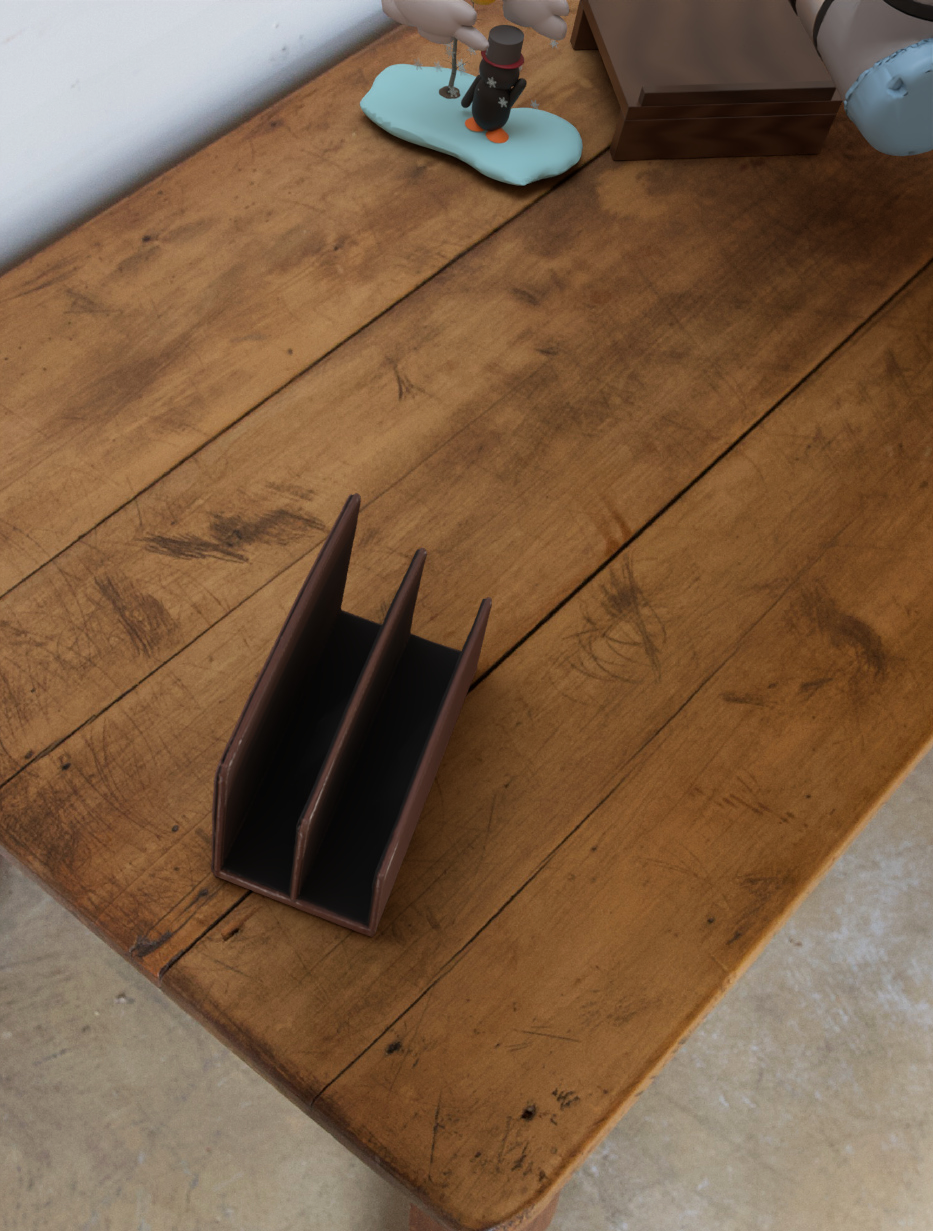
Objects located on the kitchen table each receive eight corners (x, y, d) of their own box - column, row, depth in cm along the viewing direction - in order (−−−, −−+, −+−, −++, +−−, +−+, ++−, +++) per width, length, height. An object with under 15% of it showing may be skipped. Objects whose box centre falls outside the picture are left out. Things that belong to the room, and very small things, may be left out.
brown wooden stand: (759, 34, 118) (784, -33, 113) (819, 154, 108) (849, 86, 103) (569, 40, 117) (585, -28, 112) (613, 160, 108) (632, 93, 102)
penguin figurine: (598, 154, 108) (648, -25, 95) (529, 215, 104) (572, 36, 91) (409, 65, 115) (432, -114, 102) (337, 118, 110) (351, -61, 97)
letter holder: (208, 877, 72) (204, 757, 60) (331, 616, 82) (348, 468, 70) (373, 942, 70) (403, 831, 58) (478, 666, 80) (522, 523, 68)
